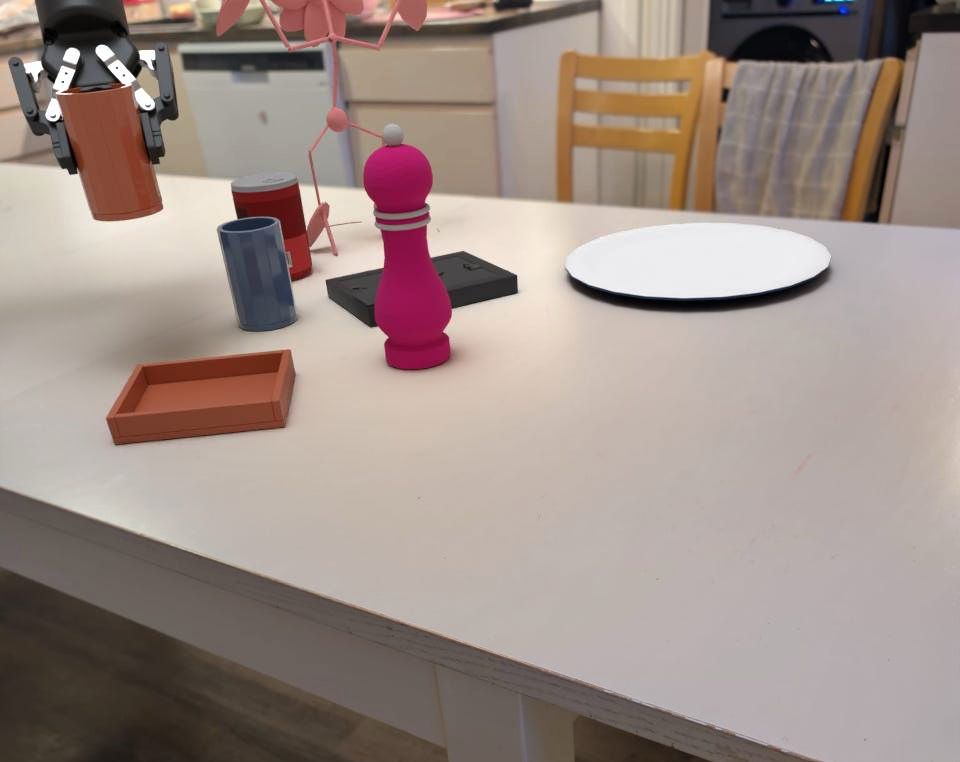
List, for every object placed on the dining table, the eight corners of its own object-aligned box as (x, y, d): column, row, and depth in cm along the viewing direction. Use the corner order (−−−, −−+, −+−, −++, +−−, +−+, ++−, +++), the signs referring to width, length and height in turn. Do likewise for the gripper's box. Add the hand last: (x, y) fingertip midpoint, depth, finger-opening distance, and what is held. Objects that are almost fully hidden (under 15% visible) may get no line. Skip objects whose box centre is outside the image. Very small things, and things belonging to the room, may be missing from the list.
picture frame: (370, 327, 98) (518, 292, 104) (367, 305, 97) (517, 271, 103) (327, 296, 108) (464, 266, 114) (324, 276, 107) (463, 247, 112)
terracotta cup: (85, 224, 84) (45, 96, 78) (101, 208, 89) (65, 87, 83) (156, 217, 84) (123, 89, 78) (169, 201, 89) (138, 80, 83)
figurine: (457, 231, 128) (431, -93, 107) (279, 269, 119) (212, -76, 98) (408, 212, 139) (376, -85, 118) (242, 245, 130) (175, -69, 109)
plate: (867, 300, 94) (870, 283, 93) (576, 322, 95) (576, 305, 94) (788, 227, 117) (790, 213, 116) (555, 246, 118) (555, 231, 117)
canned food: (326, 269, 117) (310, 173, 111) (281, 287, 112) (262, 188, 106) (282, 263, 121) (264, 170, 115) (237, 280, 116) (216, 184, 110)
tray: (114, 444, 79) (105, 418, 77) (143, 389, 89) (136, 364, 87) (285, 427, 79) (279, 400, 78) (295, 373, 89) (290, 348, 88)
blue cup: (235, 334, 100) (212, 235, 94) (242, 314, 105) (221, 220, 99) (295, 327, 100) (276, 228, 94) (299, 309, 105) (281, 214, 99)
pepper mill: (381, 348, 93) (350, 121, 81) (454, 341, 93) (433, 113, 81) (380, 375, 87) (346, 134, 75) (457, 367, 87) (436, 126, 75)
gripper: (-21, -30, 80) (13, 145, 78) (151, -45, 82) (189, 124, 80) (10, 39, 87) (42, 201, 85) (167, 23, 89) (202, 180, 87)
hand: (113, 163), depth 82 cm, fingers closed on terracotta cup, 6 cm apart
